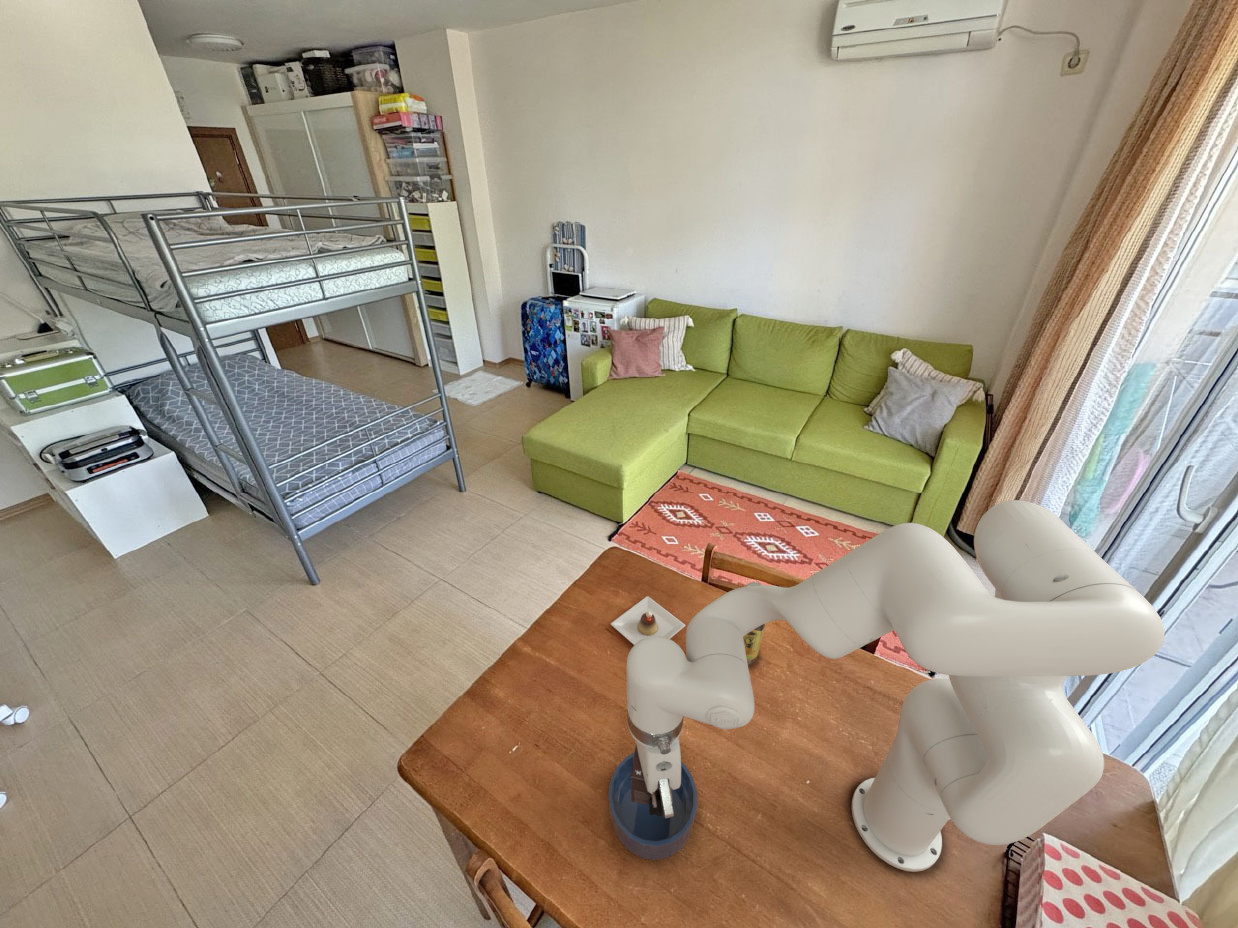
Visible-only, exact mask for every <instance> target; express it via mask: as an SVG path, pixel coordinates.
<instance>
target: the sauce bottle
mask: <svg viewBox="0 0 1238 928" xmlns="http://www.w3.org/2000/svg"><path fill="white" fill-rule="evenodd" d="M760 585H763V584H762V583H760V582H754V581H753V582H749V583H747V584H746V586H745V587H748V586H760ZM765 628H766V623H765V624H763V625H761V626H759V627H757V628H756V629H754V630H752V631H751V632H749V633H748V634H746V635H745V636H744V637H743V640H744V646H745V652H746V658H747V663H748V666H749V665H752V664H753V663H755V662H756V660H757V657H758V655H759V652H760V648H761V643H762V639H763V636H764V631H765Z"/></svg>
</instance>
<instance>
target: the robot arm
mask: <svg viewBox="0 0 1238 928" xmlns="http://www.w3.org/2000/svg"><path fill="white" fill-rule="evenodd" d="M973 547H974V553H975V557H976V559H977V562H978V564H979V566H980V569H981V570H982V572H983V574H984V576H985V577H986V578H987V580H988V581H989V582H990V583H991V585H992V586H993V588H994V589H995V590H994V596H993V595H992V594H991V593H990V592H989V590H988V589H987V588H986V586H985V585H984V584H983V583H982V581H981V580H980V579H979V577H978V575H976V573H975V572H974V570H973V569H972V567H970V565H969V564H968V563H967V562H966V560H965V559H964V558H963V557H962V555H960V553H959V552H958V550H956V548H955V547H954V546H953V545H952V544H951V543H950V542H949V541H948V540H947V539H946V538H945V537H944V536H943V535H941V534H940V533H939V532H937V531H936V530H934V529H933V528H931V527H929V526H927V525H924V524H922V523H917V522H903V523H899V524H896V525H893V526H890V527H888V528H887V529H885V530H883V531H881V532H880V533H878V534H877V535H875V536H873V537H872V538H870V539H868V540H866V541H865V542H864V543H862V544H860V545H859V546H857V547H855V548H854V549H852V550H850V551H849V552H847V553H845V554H844V555H842V556H840V557H839V558H838V559H836V560H835V561H833V562H831V563H830V564H828V565H826V566H825V567H824V568H821V569H820V570H818V571H817V572H815V573H814V574H812V575H810V576H809V577H807V578H806V579H804V580H802V581H801V582H799V583H798V584H796V585H794V586H790V587H785V586H777V585H768V584H767V585H766V584H762V585H760V586H748V587H746V586H742V587H737V588H734V589H732V590H729V591H728V592H725V593H724V594H722V595H721V596H719V597H718V598H716V599H714V600H713V601H712V602H710V603H708V604H707V605H706V606H704V607H702V608H701V609H700V610H699V611H698V612H697V613H696V614H695V615H694V616H693V617H692V618H691V620H690V621H689V623H688V624H687V627H686V632H685V652H684V650H683V649H682V647H681V646H680V645H679V644H678V643H676V642H675V641H674V640H672V639H671V638H670V639H668V638H665V637H661V636H651V637H647V638H644V639H642V640H640V641H639V642H637V643H636V644H635V645H634V644H633V646H632V647H631V648H630V650H629V651H628V655H627V658H626V668H625V669H626V670H625V671H626V673H625V674H626V716H627V718H626V723H627V729H628V731H629V733H630V735H631V736H632V738H633V739H634V740H635V746H636V745H637V750H638V755H639V759H640V763H641V767H642V771H643V775H644V779H645V783H646V787H647V791H648V792H649V793H651V797H650V799H649V813H650V815H655V814H656V815H657V816H664V818H665V819H666V818H670V817H674V812H673V801H672V792H671V788H672V789H673V790H675V789H678V788H679V787H680V785H681V762H682V756H681V755H682V753H681V745H680V739H679V737H680V736H681V734H682V731H683V727H684V718H688V719H690V720H693V721H697V722H700V723H702V724H705V725H710V726H713V727H715V728H717V729H722V730H732V729H733V730H734V729H738V728H741V727H742V728H743V727H744V726H746V725H748V724H749V723H750V722H751V721H752V719H753V716H754V714H755V710H756V709H755V708H756V706H755V696H754V691H753V685H752V680H751V674H750V670H749V665H748V663H747V658H746V652H745V646H744V640H743V637H744V636H745V635H746V634H748V633H749V632H751V631H752V630H754V629H756V628H757V627H759V626H761V625H763V624H765V625H766V624H768V623H771V622H775V621H777V622H778V621H786V622H787V623H788V624H789V625H790V627H791V628H792V629H793V630H794V631H795V633H796V634H797V635H798V636H799V637H800V638H801V639H802V641H804V643H806V644H807V645H808V646H809V647H810V648H811V649H812V650H813V651H814V652H816V653H817V654H819V655H821V656H822V657H824V658H827V659H831V660H837V659H838V660H839V659H841V658H843V657H846V656H847V655H849V654H851V653H853V652H855V651H857V650H859V649H861V648H862V647H865V646H866V645H869V644H870V643H872V642H874V641H876V640H878V639H880V638H882V637H883V636H886V635H887V634H890V633H891V632H895V634H896V635H897V637H898V639H899V641H900V643H901V646H902V648H903V649H904V650H905V653H906V654H907V656H908V657H909V659H911V660H912V661H913V662H914V663H915V664H916V665H917V666H919V667H921V668H922V669H925V670H927V671H930V672H932V673H937V674H940V675H945V676H948V678H949V679H947V678H931V679H927V680H924V681H921V682H920V683H918V684H916V685H915V686H914V687H912V689H911V690H909V692H908V693H907V694H906V696H905V698H904V700H903V701H902V705H901V709H900V712H899V713H900V714H899V719H898V720H899V721H898V727H897V732H896V735H895V737H894V739H893V742H892V744H891V745H890V748H889V750H888V751H887V753H886V755H885V758H884V759H883V761H882V763H881V766H880V767H879V769H878V772H877V773H876V775H875V777H870V778H868V779H865V780H863V781H862V782H861V783H860V784H859V785H858V786H857V788H856V789H855V790H854V792H853V796H852V799H851V816H852V819H853V822H854V825H855V828H856V830H857V832H858V834H859V836H860V837H861V838H862V840H863V842H864V843H865V845H866V846H867V847H869V849H870V850H871V851H872V852H873V853H874V854H875V855H876V856H877V857H878V858H879V859H880V860H882V861H884V862H885V863H886V864H888V865H890V866H892V867H894V868H896V869H898V870H902V871H905V872H910V873H911V872H912V873H916V872H917V873H918V872H923V871H926V870H927V869H930V868H932V866H934V864H935V863H936V862H937V861H938V859H939V858H940V855H941V853H942V848H943V838H942V837H943V836H942V829H943V828H944V827H945V825H946V824H947V823H948V822H949V821H951V822H952V823H953V825H954V826H955V827H956V828H957V829H958V830H959V831H960V832H961V833H962V834H964V835H965V836H966V837H967V838H970V839H971V840H973V841H975V842H978V843H981V844H983V845H989V846H1003V845H1009V844H1013V843H1016V842H1019V841H1022V840H1024V839H1026V838H1027V837H1030V836H1031V835H1033V834H1034V833H1036V832H1037V831H1039V830H1040V829H1041V828H1043V827H1044V826H1046V825H1047V824H1049V823H1050V822H1051V821H1052V820H1053V819H1055V818H1056V817H1057V816H1059V815H1060V814H1061V813H1062V812H1064V811H1065V810H1066V809H1068V808H1069V807H1071V806H1072V805H1073V804H1074V803H1075V802H1077V801H1078V800H1079V799H1081V798H1082V797H1084V796H1085V795H1087V793H1089V792H1090V791H1091V790H1092V789H1093V788H1094V787H1095V786H1096V785H1097V784H1098V783H1099V782H1100V780H1101V778H1102V776H1103V774H1104V769H1105V758H1104V754H1103V750H1102V747H1101V746H1100V744H1099V742H1098V740H1097V739H1096V737H1095V736H1094V734H1093V732H1092V731H1091V729H1090V728H1089V726H1088V725H1087V724H1086V722H1085V721H1084V719H1082V717H1081V716H1080V715H1079V713H1078V712H1077V710H1076V709H1075V708H1074V707H1073V705H1072V704H1071V703H1070V701H1069V700H1068V698H1067V696H1066V694H1065V691H1064V683H1065V681H1066V680H1067V678H1068V677H1083V676H1084V677H1086V676H1087V677H1088V676H1100V675H1108V674H1109V675H1110V674H1114V673H1119V672H1123V671H1127V670H1130V669H1132V668H1135V667H1137V666H1140V665H1142V664H1144V663H1146V662H1148V661H1149V660H1151V659H1153V657H1154V656H1155V655H1156V654H1157V653H1158V652H1159V651H1160V649H1161V647H1162V645H1163V643H1164V642H1165V626H1164V623H1163V620H1162V618H1161V616H1160V614H1159V613H1158V612H1157V611H1156V609H1155V608H1154V607H1153V605H1152V604H1151V603H1150V602H1149V600H1147V599H1146V597H1145V596H1143V595H1142V594H1141V593H1140V592H1139V591H1138V590H1137V589H1136V588H1135V587H1134V586H1133V585H1131V584H1130V582H1128V581H1127V580H1126V579H1125V578H1124V577H1123V576H1122V575H1121V574H1119V572H1117V571H1116V570H1115V569H1114V567H1112V566H1111V565H1110V564H1108V563H1107V562H1106V561H1105V560H1104V559H1103V558H1102V557H1101V556H1100V555H1099V554H1098V553H1097V552H1096V551H1095V550H1094V549H1093V548H1092V547H1091V546H1090V545H1089V544H1087V542H1085V540H1084V539H1082V538H1081V536H1079V535H1078V534H1077V533H1076V532H1074V531H1073V529H1071V528H1070V527H1069V526H1068V525H1067V524H1066V523H1065V522H1064V521H1063V520H1062V519H1061V518H1060V517H1059V516H1058V515H1057V514H1055V513H1054V512H1053V511H1051V510H1050V509H1048V508H1046V507H1044V506H1042V505H1039V504H1037V503H1034V502H1030V501H1027V500H1021V499H1012V500H1011V499H1010V500H1005V501H1002V502H999V503H997V504H995V505H993V506H991V507H990V508H989V509H988V510H986V512H985V513H984V514H983V515H982V516H981V518H980V519H979V521H978V522H977V525H976V528H975V530H974V536H973ZM685 653H686V654H685ZM657 790H660V794H659V795H656V791H657Z"/></svg>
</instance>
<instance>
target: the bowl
mask: <svg viewBox="0 0 1238 928" xmlns="http://www.w3.org/2000/svg"><path fill="white" fill-rule="evenodd" d="M633 757H634V752H632V753H630V754H628V755H627V756H625V757H624V758H623V759H622V760H621V761H620V762H619V764H618V765H617V766H616V768H615V769H614V771H613V773H612V776H611V778H610V781H609V787H608V793H607V794H608V795H607V798H608V807H609V808H608V811H609V817H610V818H609V819H610V823H611V827H612V829H613V831H614V833H615V835H616V838H617V839H618V841H619V842H620V843H621V844H622V845H623V846H624V847H625V848H626V849H627V850H628V852H630V853H632V854H633V855H636V856H637V857H639V858H641V859H646V860H653V861H658V860H662V859H667V858H671V857H672V856H673V855H675V854H677V853H678V852H680V851H681V850H682V849H683V848H684V847H685V846H686V844H687V842H688V841H689V840H690V839H691V836H692V833H693V830H694V827H695V823H696V818H697V810H698V790H697V787H696V784H695V783H696V782H695V781H694V777H693V775H692V774H691V772H690V771H689V769H688V766H686V764H685V763H684V762H683V761H681V785H680V787H679V788H678V789H675V790H673V789H672V801H673V812H674V817H670V818H666V819H665V818H664V816H657V815H656V814H655V815H650V813H649V805H646V804H641V803H636V802H632V801H631V770H632V764H633Z"/></svg>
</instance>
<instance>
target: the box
mask: <svg viewBox="0 0 1238 928" xmlns="http://www.w3.org/2000/svg"><path fill="white" fill-rule="evenodd" d="M633 753H634V757H633V764H632V770H631V801H632V802H636V803H641V804H646V805H649V799H650V797H651V793H649V792H648V791H647V787H646V783H645V779H644V775H643V771H642V767H641V763H640V759H639V755H638V750H637V745H636V744H635V745H634V752H633ZM671 792H672V788H671ZM659 794H660V790H657V791H656V795H659Z"/></svg>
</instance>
